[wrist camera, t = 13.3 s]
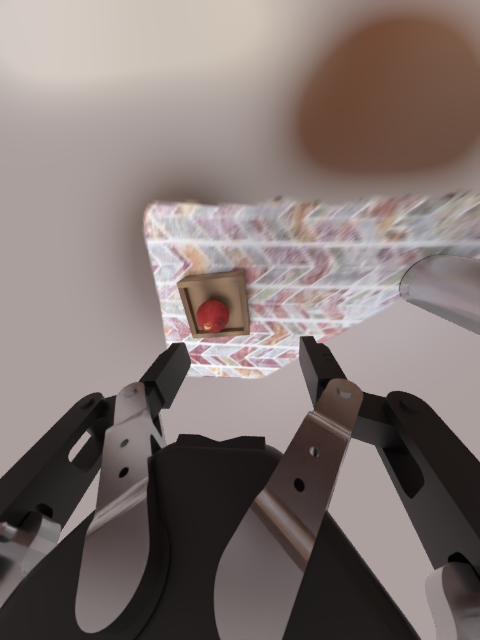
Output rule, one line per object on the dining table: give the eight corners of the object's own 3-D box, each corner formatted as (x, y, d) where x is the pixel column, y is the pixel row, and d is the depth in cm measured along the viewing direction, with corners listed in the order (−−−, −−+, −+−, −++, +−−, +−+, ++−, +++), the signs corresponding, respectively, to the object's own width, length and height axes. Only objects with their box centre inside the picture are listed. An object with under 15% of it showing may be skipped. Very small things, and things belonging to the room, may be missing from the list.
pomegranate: (232, 295, 32) (226, 313, 25) (230, 322, 35) (224, 345, 28) (202, 292, 32) (188, 309, 25) (202, 319, 35) (190, 341, 28)
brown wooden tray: (244, 269, 34) (242, 275, 29) (250, 321, 39) (249, 334, 34) (187, 275, 35) (176, 282, 30) (200, 325, 41) (193, 338, 36)
